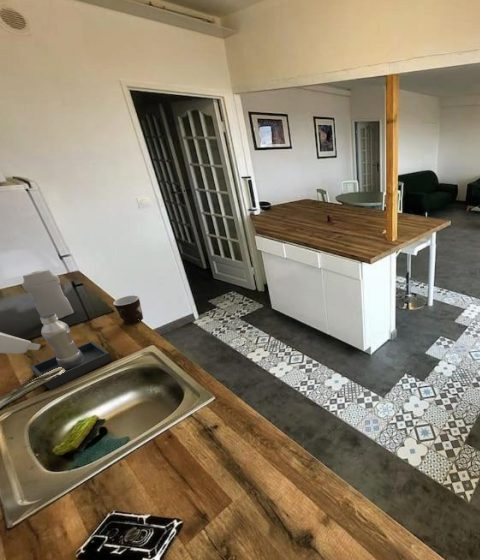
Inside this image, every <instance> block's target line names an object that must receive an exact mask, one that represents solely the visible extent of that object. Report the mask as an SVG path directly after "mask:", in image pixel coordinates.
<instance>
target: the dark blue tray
mask: <svg viewBox="0 0 480 560" xmlns="http://www.w3.org/2000/svg"><path fill="white" fill-rule="evenodd" d="M77 348H78V349H79V350H80V351H81V352H82V354H83V356H84V360H83V362H82V363H81V364H80V365H78V366H76V367H74V368H70V369H65V370H66V371H65V372H64V373H62V374H61V375H59V376H57V377H56V378H53V379H51V380H50V381H48V382H46V383H45V384H44V386H45V387H46V388H47V389H48V390H49V391H51V390H53V389H55V388H58V387H59V386H62V385H64V384H66V383H68V382H70V381H72V380H75V379H77V378H79V377H82V376H83V375H85V374H87V373H90V372H92V371H93V370H95V369H98V368H100V367H102V366H104V365H106V364H108V363H111V362H113V358H112V356H111V354H110V351H107V350H106V349H104V348H103V347H102V346H100V345H99V344H97V343H96V342H95V341H93V340H91V341H89V342H86V343H83V344H81V345H79V346H77ZM58 367H60V366H59V365H58V363H57V360H56V356H55V355H54V356H52V357H50V358H47V359H45V360H42V361H40V362H37V363H35V364H33V365H31V366H29V368H30V370H31V372H32V374H33V375H34V376H35V377H36V378H37V377H39V376H41V375H43V374H44V373H46V372H49V371H51V370H53V369H55V368H58Z"/></svg>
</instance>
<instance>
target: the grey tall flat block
mask: <svg viewBox="0 0 480 560" xmlns="http://www.w3.org/2000/svg"><path fill="white" fill-rule="evenodd" d="M22 277H23V282H22V283H21V286H22V288H23V290H24V291H25V292H26V293H28V295H29V296H30V297H31V299H32V300H33V302H34V304H35V309H36V312H38V315H39V317H41V316H43V315H46V314H50V313H55V314H56V316H57V317H58V320H60V319H62V318H65V317H68V316H70V315H72V314H74V313H75V311H74V309H73V308H72V305H71V303H70V301H69V300H68V298H67V297H66V296H65V294H64V292H63V290H62V287H61V284H60V283H61V279H60V278H59V276H58V274H57V275H56V274H54V273H53V272H52V271H51V270H50V269H45V270H36V271H33V272H30V273H26V274H24V275H22Z"/></svg>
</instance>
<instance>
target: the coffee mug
mask: <svg viewBox="0 0 480 560" xmlns="http://www.w3.org/2000/svg"><path fill="white" fill-rule="evenodd" d="M112 304H113V306H114V307H115V309H116V311H117V313H118V315H119V317H120V319H122V320H123V322H124V324H126V325H134V324H138V323H139V322H141V321H142V320H143V319H144V315H143V310H142V305H141V301H140V297H139V295H135V294H133V295H127V296H126V295H125V296H122V297H119V298H117V299H116V300H114V301H113V303H112ZM138 319H139V320H140V321H139V320H138Z"/></svg>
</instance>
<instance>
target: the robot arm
mask: <svg viewBox="0 0 480 560" xmlns="http://www.w3.org/2000/svg"><path fill="white" fill-rule="evenodd" d="M40 348H41V344H40V343H36V342H31V340H27V339H24V338H21V337H18V336H14V335H10V334H7V333H4V332H1V331H0V354H9V355H10V354H11V355H12V354H13V355H23V354H26V353H27V351H31V350H32V351H38V350H39V349H40Z"/></svg>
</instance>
